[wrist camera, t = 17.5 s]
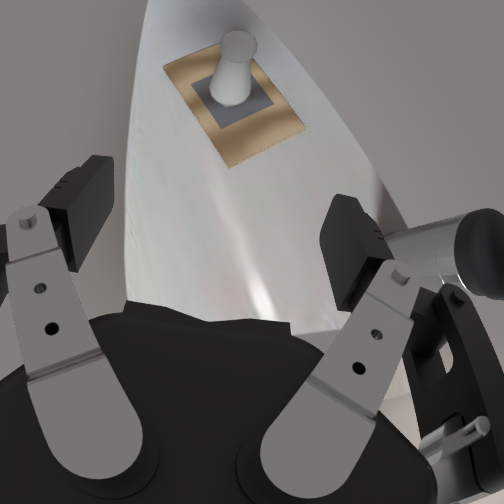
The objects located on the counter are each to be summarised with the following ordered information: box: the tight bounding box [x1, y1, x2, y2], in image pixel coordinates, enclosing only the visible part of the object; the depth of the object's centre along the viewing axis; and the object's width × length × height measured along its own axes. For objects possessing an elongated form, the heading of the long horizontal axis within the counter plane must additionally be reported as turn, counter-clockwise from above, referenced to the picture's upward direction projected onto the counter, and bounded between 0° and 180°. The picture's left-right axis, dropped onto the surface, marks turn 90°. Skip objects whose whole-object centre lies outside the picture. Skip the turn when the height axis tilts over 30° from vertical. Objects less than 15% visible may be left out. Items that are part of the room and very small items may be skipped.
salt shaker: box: [209, 31, 257, 107], centre depth 37 cm, size 6×6×13 cm
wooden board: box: [163, 43, 306, 168], centre depth 44 cm, size 20×13×1 cm, turn 32°
